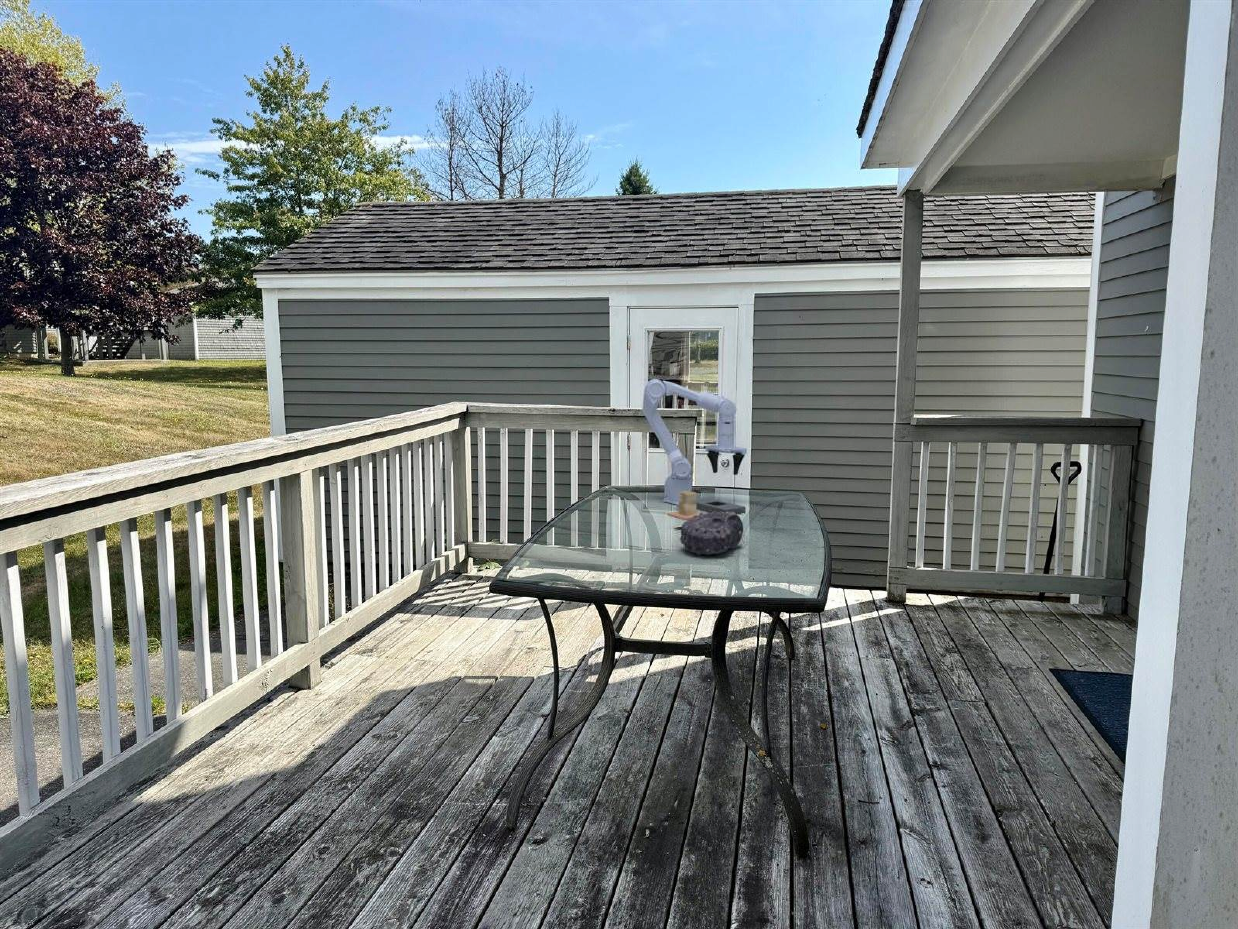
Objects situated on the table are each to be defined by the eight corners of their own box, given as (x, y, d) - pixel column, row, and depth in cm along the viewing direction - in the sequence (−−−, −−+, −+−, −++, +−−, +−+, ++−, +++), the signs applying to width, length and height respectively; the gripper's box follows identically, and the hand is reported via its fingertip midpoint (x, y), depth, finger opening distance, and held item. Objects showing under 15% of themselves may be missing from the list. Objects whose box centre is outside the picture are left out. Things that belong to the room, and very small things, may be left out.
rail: (688, 507, 288) (688, 500, 288) (708, 504, 294) (708, 497, 293) (725, 516, 274) (725, 510, 274) (745, 513, 279) (745, 506, 279)
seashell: (745, 550, 240) (707, 517, 246) (760, 519, 231) (720, 486, 237) (701, 581, 227) (662, 545, 234) (715, 550, 219) (674, 514, 225)
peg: (678, 513, 275) (679, 492, 274) (688, 512, 278) (688, 490, 277) (686, 515, 272) (687, 494, 271) (696, 514, 275) (696, 492, 273)
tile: (667, 515, 276) (667, 513, 276) (688, 511, 281) (688, 509, 281) (685, 520, 269) (685, 518, 269) (706, 516, 274) (706, 514, 274)
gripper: (701, 434, 292) (701, 473, 294) (741, 437, 284) (740, 477, 287) (710, 432, 298) (709, 470, 300) (749, 434, 290) (748, 474, 293)
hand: (725, 473), depth 294 cm, fingers open, 7 cm apart
